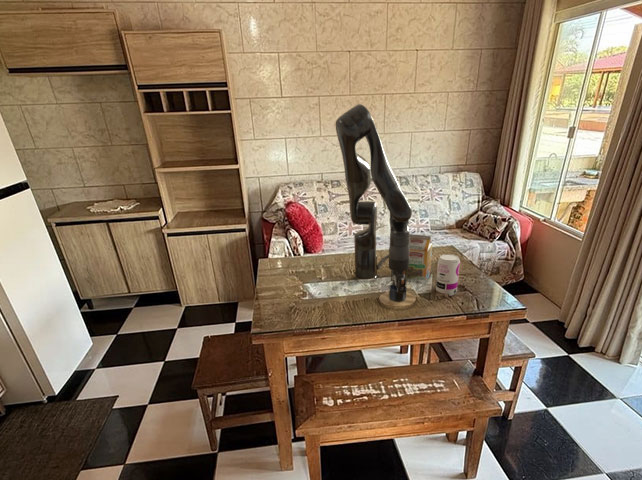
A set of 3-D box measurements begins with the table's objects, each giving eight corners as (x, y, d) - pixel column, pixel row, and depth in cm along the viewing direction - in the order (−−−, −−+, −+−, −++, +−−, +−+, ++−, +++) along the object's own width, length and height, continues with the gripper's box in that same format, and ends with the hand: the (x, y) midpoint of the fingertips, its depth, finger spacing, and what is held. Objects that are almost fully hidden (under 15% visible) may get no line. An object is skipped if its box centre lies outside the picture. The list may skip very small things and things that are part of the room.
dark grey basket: (390, 302, 155) (391, 290, 152) (387, 295, 160) (387, 284, 158) (412, 300, 155) (413, 289, 153) (408, 293, 161) (409, 282, 159)
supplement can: (457, 289, 166) (461, 254, 159) (455, 298, 160) (459, 261, 152) (437, 287, 169) (440, 252, 161) (434, 295, 162) (437, 259, 155)
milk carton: (401, 280, 177) (402, 237, 168) (406, 271, 185) (408, 230, 176) (425, 282, 173) (428, 239, 164) (430, 274, 182) (433, 232, 173)
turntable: (391, 291, 167) (391, 288, 166) (421, 299, 159) (422, 296, 159) (372, 303, 158) (372, 300, 157) (403, 313, 150) (403, 309, 149)
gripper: (384, 250, 155) (384, 290, 163) (393, 263, 143) (392, 306, 151) (404, 249, 156) (402, 289, 164) (414, 261, 143) (411, 304, 152)
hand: (397, 297), depth 157 cm, fingers closed on dark grey basket, 6 cm apart
